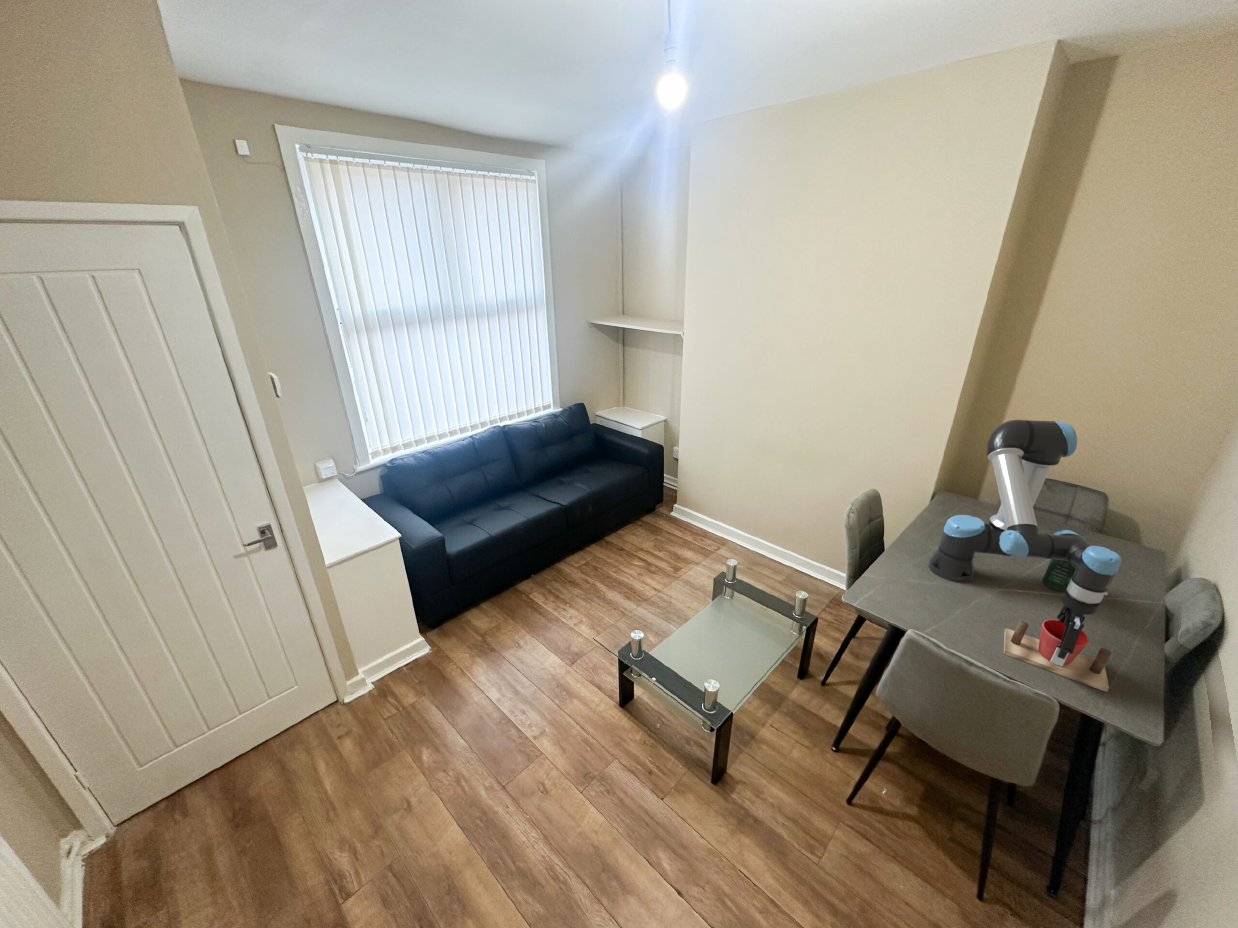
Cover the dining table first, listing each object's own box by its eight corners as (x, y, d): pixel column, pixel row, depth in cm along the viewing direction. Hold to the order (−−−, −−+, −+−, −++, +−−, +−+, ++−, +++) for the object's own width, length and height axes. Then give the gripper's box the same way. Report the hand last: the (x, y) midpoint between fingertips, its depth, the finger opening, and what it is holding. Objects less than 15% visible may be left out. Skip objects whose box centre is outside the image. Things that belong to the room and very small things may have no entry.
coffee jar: (1064, 595, 174) (1084, 553, 166) (1038, 583, 180) (1056, 543, 172) (1073, 585, 179) (1092, 544, 171) (1047, 574, 185) (1064, 534, 177)
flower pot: (1031, 657, 146) (1043, 634, 142) (1032, 636, 154) (1042, 613, 150) (1077, 675, 140) (1090, 651, 136) (1075, 652, 147) (1087, 628, 143)
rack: (1003, 653, 150) (1013, 631, 146) (1004, 631, 158) (1013, 609, 154) (1107, 692, 136) (1121, 668, 132) (1101, 665, 145) (1114, 642, 141)
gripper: (1106, 624, 127) (1074, 682, 136) (1096, 580, 143) (1068, 635, 152) (1069, 612, 131) (1040, 670, 140) (1063, 571, 147) (1038, 625, 156)
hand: (1055, 652), depth 146 cm, fingers closed on flower pot, 10 cm apart
